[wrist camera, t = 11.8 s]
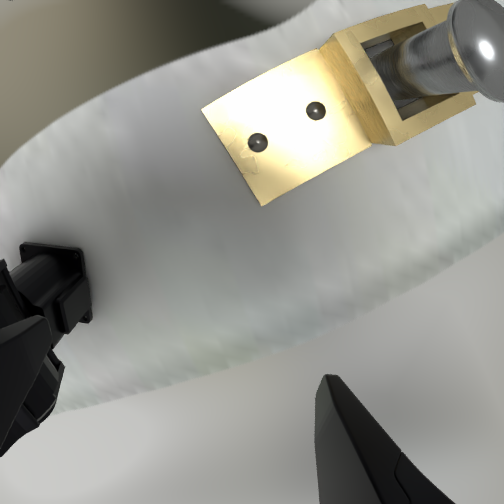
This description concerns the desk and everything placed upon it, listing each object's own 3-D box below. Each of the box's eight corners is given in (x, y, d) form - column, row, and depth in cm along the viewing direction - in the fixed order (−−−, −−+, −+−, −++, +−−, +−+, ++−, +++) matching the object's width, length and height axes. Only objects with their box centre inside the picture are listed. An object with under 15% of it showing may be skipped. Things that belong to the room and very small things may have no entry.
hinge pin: (357, 110, 18) (472, 97, 7) (346, 50, 16) (443, -18, 5) (413, 109, 17) (540, 108, 7) (402, 51, 16) (519, 10, 5)
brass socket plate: (261, 203, 20) (264, 223, 16) (203, 110, 18) (189, 104, 14) (500, 79, 16) (536, 77, 12) (461, 2, 14) (494, -12, 9)
